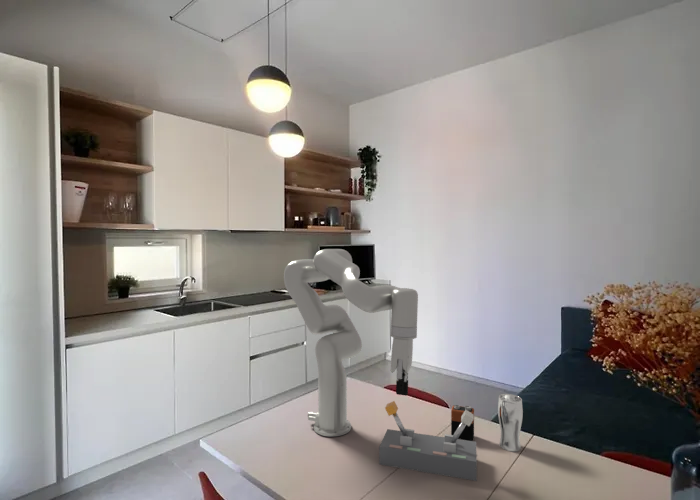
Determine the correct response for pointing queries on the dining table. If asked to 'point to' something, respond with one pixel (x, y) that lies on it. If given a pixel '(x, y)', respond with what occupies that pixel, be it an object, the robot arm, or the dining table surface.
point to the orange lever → (395, 416)
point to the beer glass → (510, 421)
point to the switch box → (429, 454)
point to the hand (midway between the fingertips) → (401, 393)
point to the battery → (456, 421)
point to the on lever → (462, 425)
